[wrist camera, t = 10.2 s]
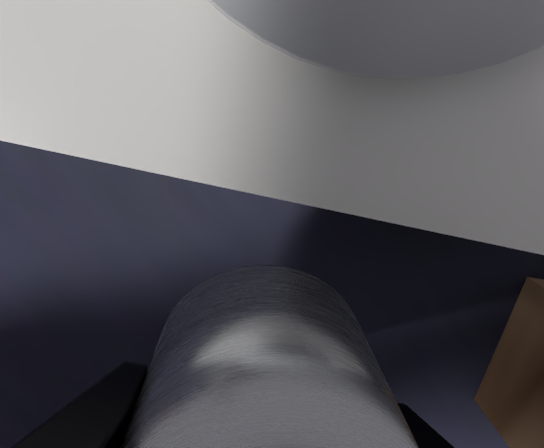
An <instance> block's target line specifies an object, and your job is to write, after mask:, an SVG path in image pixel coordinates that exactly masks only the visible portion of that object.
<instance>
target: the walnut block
mask: <svg viewBox="0 0 544 448" xmlns="http://www.w3.org/2000/svg"><path fill="white" fill-rule="evenodd" d="M474 401H475V402H476V403H477V405H478V406H479V407H480V409H481V410H482V411H483V413H484V414H485V415H486V417H487V418H488V419H489V421H490V422H491V423H492V425H493V426H494V427H495V429H496V430H497V431H498V433H499V434H500V436H501V437H502V438H503V440H504V441H505V442H506V444H507V445H508V446H509V448H544V280H543V279H537V278H531V277H527V278H526V280H525V283H524V285H523V287H522V290H521V292H520V294H519V297H518V299H517V301H516V303H515V306H514V308H513V310H512V313H511V315H510V317H509V320H508V322H507V324H506V327H505V329H504V331H503V333H502V336H501V338H500V340H499V343H498V345H497V347H496V350H495V352H494V354H493V356H492V359H491V361H490V363H489V366H488V368H487V370H486V373H485V375H484V377H483V379H482V382H481V384H480V386H479V389H478V391H477V393H476V396H475V398H474Z"/></svg>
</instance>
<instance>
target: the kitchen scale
mask: <svg viewBox="0 0 544 448" xmlns="http://www.w3.org/2000/svg"><path fill="white" fill-rule="evenodd" d="M0 140H1V141H5V142H10V143H15V144H20V145H24V146H29V147H34V148H39V149H43V150H48V151H53V152H58V153H62V154H67V155H72V156H76V157H81V158H86V159H91V160H95V161H100V162H105V163H110V164H114V165H119V166H124V167H129V168H133V169H138V170H143V171H148V172H152V173H157V174H162V175H167V176H171V177H176V178H181V179H185V180H190V181H195V182H200V183H204V184H209V185H214V186H219V187H223V188H228V189H233V190H238V191H242V192H247V193H252V194H257V195H261V196H266V197H271V198H276V199H280V200H285V201H290V202H294V203H299V204H304V205H309V206H313V207H318V208H323V209H328V210H332V211H337V212H342V213H347V214H351V215H356V216H361V217H366V218H370V219H375V220H380V221H385V222H389V223H394V224H399V225H403V226H408V227H413V228H418V229H422V230H427V231H432V232H437V233H441V234H446V235H451V236H456V237H460V238H465V239H470V240H475V241H479V242H484V243H489V244H494V245H498V246H503V247H508V248H513V249H517V250H522V251H527V252H531V253H536V254H541V255H544V0H0Z"/></svg>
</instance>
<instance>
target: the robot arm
mask: <svg viewBox="0 0 544 448" xmlns="http://www.w3.org/2000/svg"><path fill="white" fill-rule="evenodd" d="M146 374H147V366H146V365H145V364H139V363H133V362H123V363H122V364H120V365H119V366H118V367H116V368H115V369H114V370H112V371H111V372H110V373H108V374H107V375H106V376H104V377H103V378H102V379H100V380H99V381H98V382H96V383H95V384H94V385H93V386H91V387H90V388H89V389H87V390H86V391H85V392H83V393H82V394H81V395H79V396H78V397H77V398H75V399H74V400H73V401H71V402H70V403H69V404H68V405H66V406H65V407H64V408H62V409H61V410H60V411H58V412H57V413H56V414H54V415H53V416H52V417H50V418H49V419H48V420H47V421H45V422H44V423H43V424H41V425H40V426H39V427H37V428H36V429H35V430H33V431H32V432H31V433H29V434H28V435H27V436H25V437H24V438H23V439H22V440H20V441H19V442H18V443H16V444H15V445H14V446H12V447H11V448H120V446H121V444H122V441H123V438H124V435H125V433H126V430H127V427H128V424H129V422H130V419H131V416H132V413H133V410H134V408H135V405H136V402H137V399H138V397H139V394H140V391H141V388H142V385H143V383H144V380H145V377H146ZM398 406H399V408H400V410H401V412H402V414H403V416H404V418H405V420H406V422H407V424H408V426H409V428H410V430H411V432H412V434H413V437H414V439H415V441H416V443H417V445H418V447H419V448H454V447H453V446H452V445H451V444H450V443H449V442H447V441H446V440H445V439H444V438H443V437H442V436H441V435H440V434H438V433H437V432H436V431H435V430H434V429H433V428H432V427H430V426H429V425H428V424H427V423H426V422H425V421H424V420H423V419H421V418H420V417H419V416H418V415H417V414H416V413H415V412H414V411H412V410H411V409H410V408H409V407H408V406H407V405H405V404H401V403H398Z"/></svg>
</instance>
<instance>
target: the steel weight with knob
mask: <svg viewBox="0 0 544 448" xmlns="http://www.w3.org/2000/svg"><path fill="white" fill-rule="evenodd" d="M120 448H419V447H418V445H417V443H416V441H415V439H414V437H413V434H412V432H411V430H410V428H409V426H408V424H407V422H406V420H405V418H404V416H403V414H402V412H401V410H400V408H399V406H398V403H397V401H396V399H395V397H394V395H393V393H392V391H391V389H390V387H389V385H388V383H387V381H386V379H385V377H384V374H383V372H382V370H381V368H380V366H379V364H378V362H377V360H376V358H375V356H374V354H373V352H372V350H371V348H370V346H369V343H368V341H367V339H366V337H365V335H364V333H363V331H362V329H361V327H360V325H359V323H358V321H357V319H356V317H355V315H354V313H353V311H352V309H351V308H350V306H349V305H348V304H347V302H346V301H345V300H344V298H343V297H342V296H341V295H340V294H339V293H338V292H337V291H335V290H334V289H333V288H332V287H330V286H329V285H328V284H326V283H325V282H324V281H322V280H320V279H318V278H316V277H315V276H313V275H310V274H308V273H305V272H303V271H300V270H297V269H293V268H289V267H283V266H275V265H253V266H244V267H239V268H235V269H231V270H228V271H225V272H222V273H220V274H217V275H215V276H213V277H211V278H209V279H207V280H205V281H203V282H202V283H200V284H199V285H197V286H196V287H194V288H193V289H192V290H191V291H189V292H188V293H187V294H186V295H185V296H184V297H183V298H182V299H181V300H180V301H179V303H178V304H177V305H176V306H175V307H174V309H173V310H172V312H171V313H170V315H169V317H168V318H167V320H166V323H165V325H164V327H163V330H162V332H161V335H160V338H159V341H158V344H157V346H156V349H155V352H154V355H153V357H152V360H151V363H150V366H149V369H148V371H147V374H146V377H145V380H144V383H143V385H142V388H141V391H140V394H139V397H138V399H137V402H136V405H135V408H134V410H133V413H132V416H131V419H130V422H129V424H128V427H127V430H126V433H125V435H124V438H123V441H122V444H121V446H120Z"/></svg>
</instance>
